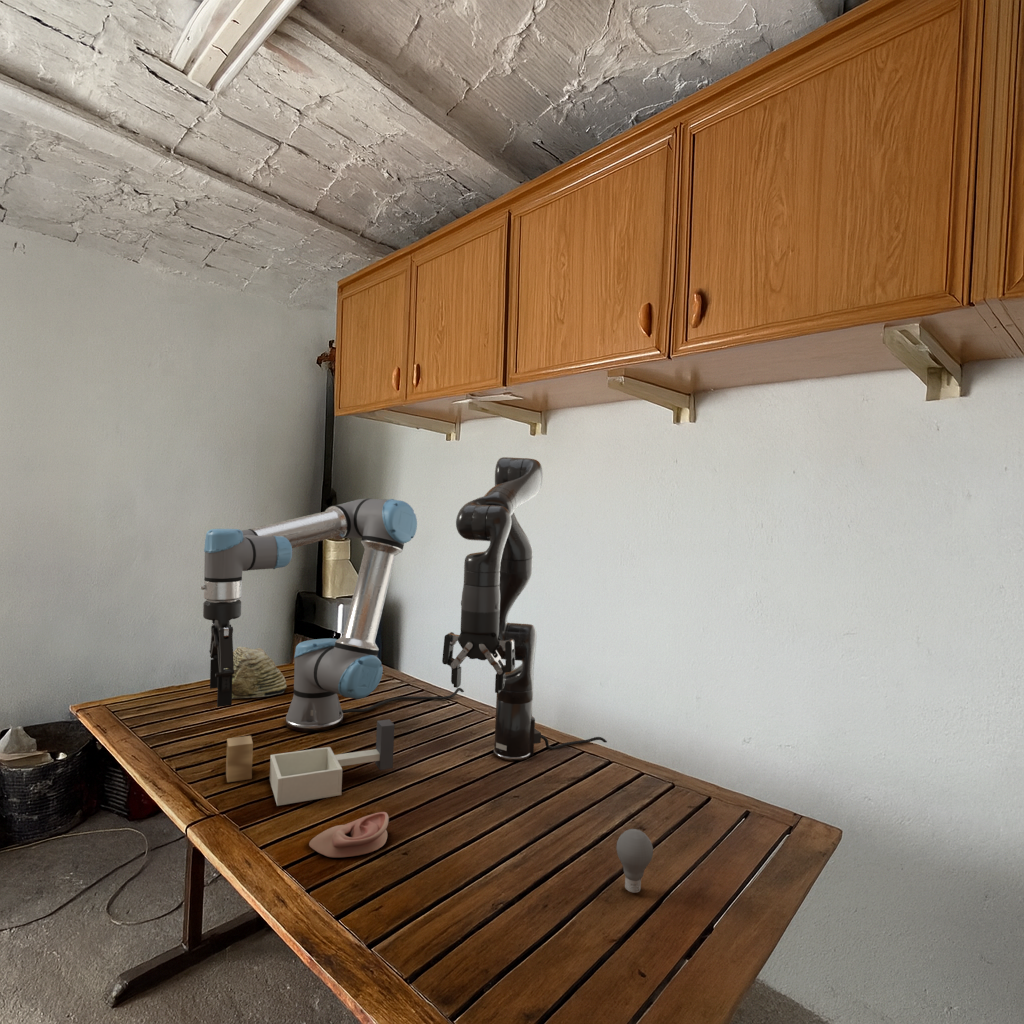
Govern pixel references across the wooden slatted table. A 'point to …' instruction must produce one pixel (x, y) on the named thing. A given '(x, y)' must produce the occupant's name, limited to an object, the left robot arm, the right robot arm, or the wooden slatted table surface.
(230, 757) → the birch block
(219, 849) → the wooden slatted table surface
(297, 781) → the handled bin
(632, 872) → the light bulb
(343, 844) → the anatomical model
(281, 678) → the fossil
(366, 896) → the wooden slatted table surface
